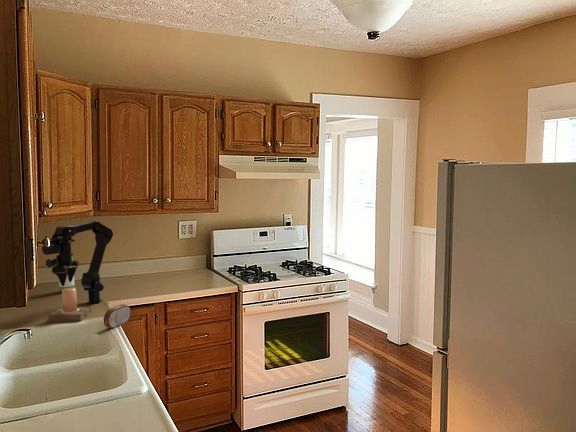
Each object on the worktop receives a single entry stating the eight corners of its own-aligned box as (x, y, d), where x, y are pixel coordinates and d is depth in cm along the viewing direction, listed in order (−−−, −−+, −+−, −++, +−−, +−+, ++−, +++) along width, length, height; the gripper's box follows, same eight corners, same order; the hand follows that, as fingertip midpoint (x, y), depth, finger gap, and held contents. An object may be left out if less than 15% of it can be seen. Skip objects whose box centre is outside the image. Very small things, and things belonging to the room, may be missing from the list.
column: (62, 309, 234) (61, 288, 233) (76, 308, 236) (75, 287, 236) (63, 312, 228) (62, 291, 228) (77, 311, 231) (76, 289, 230)
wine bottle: (77, 290, 287) (74, 238, 285) (67, 293, 280) (64, 240, 278) (67, 289, 290) (64, 237, 288) (56, 292, 283) (53, 239, 281)
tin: (126, 320, 226) (126, 301, 226) (132, 320, 225) (131, 302, 225) (103, 330, 213) (102, 310, 212) (109, 330, 211) (108, 311, 211)
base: (61, 313, 239) (60, 306, 239) (91, 312, 240) (90, 306, 240) (48, 322, 225) (48, 315, 225) (80, 321, 226) (80, 314, 226)
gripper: (55, 249, 252) (57, 280, 253) (39, 255, 233) (41, 288, 234) (78, 248, 252) (80, 279, 254) (63, 254, 234) (65, 288, 235)
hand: (66, 283), depth 244 cm, fingers open, 9 cm apart
